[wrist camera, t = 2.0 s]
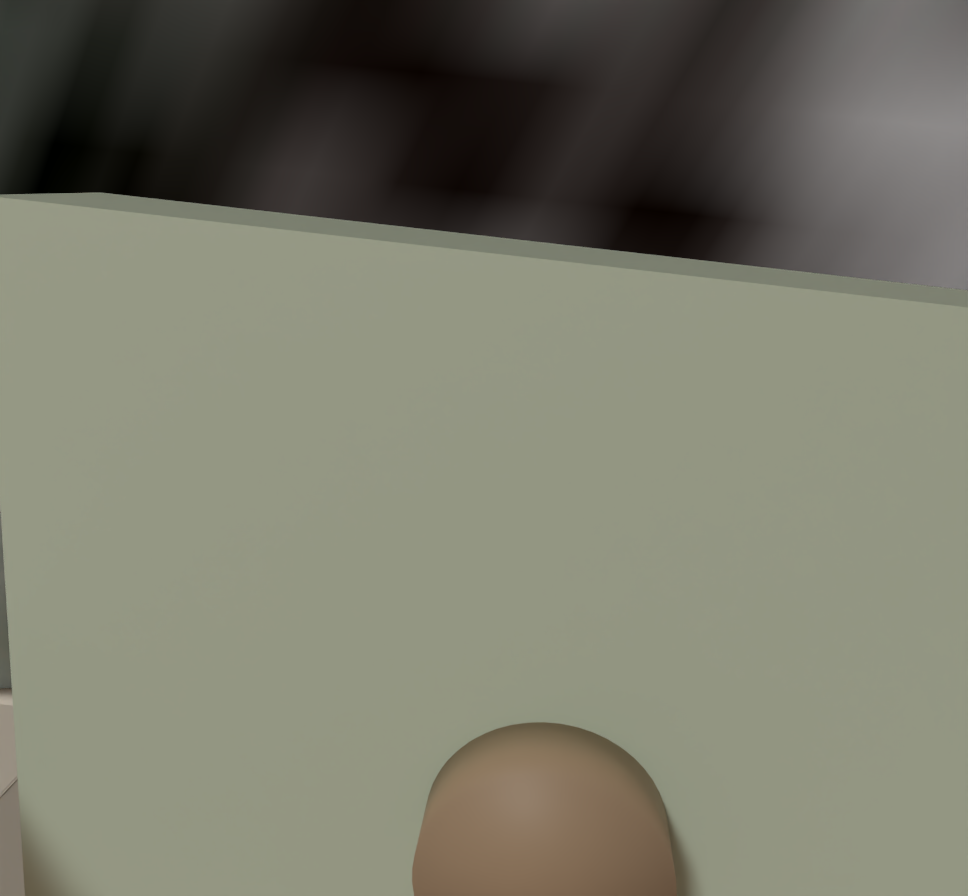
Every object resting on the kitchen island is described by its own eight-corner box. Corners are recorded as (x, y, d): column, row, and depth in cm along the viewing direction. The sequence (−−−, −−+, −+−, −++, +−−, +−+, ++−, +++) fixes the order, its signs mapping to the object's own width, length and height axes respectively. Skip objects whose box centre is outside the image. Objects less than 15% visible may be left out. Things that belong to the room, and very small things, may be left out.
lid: (100, 192, 9) (-86, 196, 7) (1172, 313, 9) (1436, 370, 6) (119, 987, 13) (-2, 1203, 10) (902, 1119, 12) (997, 1389, 9)
